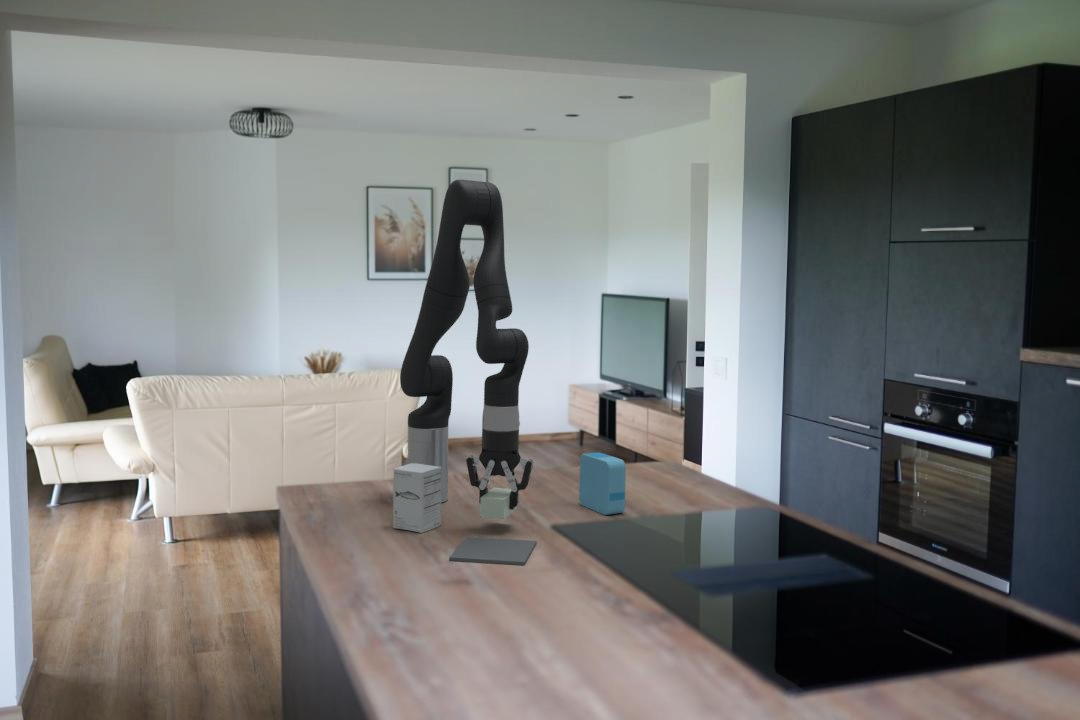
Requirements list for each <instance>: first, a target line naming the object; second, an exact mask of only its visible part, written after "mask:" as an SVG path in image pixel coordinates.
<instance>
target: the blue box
mask: <svg viewBox="0 0 1080 720" xmlns="http://www.w3.org/2000/svg"><path fill="white" fill-rule="evenodd" d="M626 469H627V468H626V463H625V461H624V460H623V459H621V458H619V457H615V456H613V455H608V454H606V453H602V452H588V453H582V454H581V455H580V460H579V491H578V492H579V498H578V499H579V502H580V504H581V506H582V507H584V506H585V507H584V508H587V509H590V510H592V511H594V512H597V513H599V514H602V515H603V516H607V515H615V514H616V515H617V514H622V513H623V512H624V511H625V505H626V504H625V503H626V472H627V470H626Z"/></svg>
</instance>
